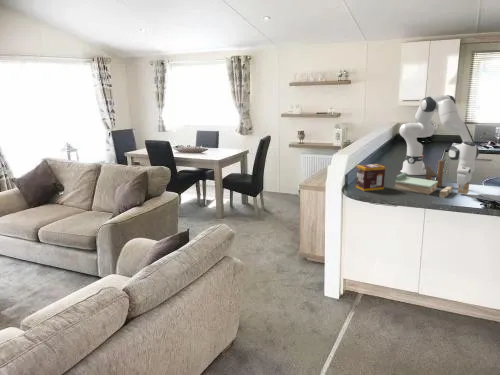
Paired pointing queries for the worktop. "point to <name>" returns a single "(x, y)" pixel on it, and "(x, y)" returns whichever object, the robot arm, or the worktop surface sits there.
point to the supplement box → (370, 177)
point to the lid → (414, 181)
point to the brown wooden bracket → (431, 173)
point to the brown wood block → (464, 188)
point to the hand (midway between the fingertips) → (463, 189)
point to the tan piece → (423, 189)
